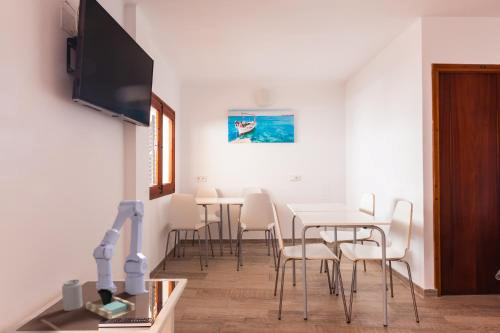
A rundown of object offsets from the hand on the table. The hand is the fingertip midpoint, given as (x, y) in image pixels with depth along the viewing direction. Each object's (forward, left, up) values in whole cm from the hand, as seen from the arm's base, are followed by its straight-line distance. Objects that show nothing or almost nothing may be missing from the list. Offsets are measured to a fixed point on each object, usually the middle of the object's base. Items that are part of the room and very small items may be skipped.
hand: (107, 306), depth 149 cm
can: (-15, -8, -2) cm, 17 cm away
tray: (+3, 0, -1) cm, 3 cm away
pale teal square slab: (+5, 0, -1) cm, 6 cm away
